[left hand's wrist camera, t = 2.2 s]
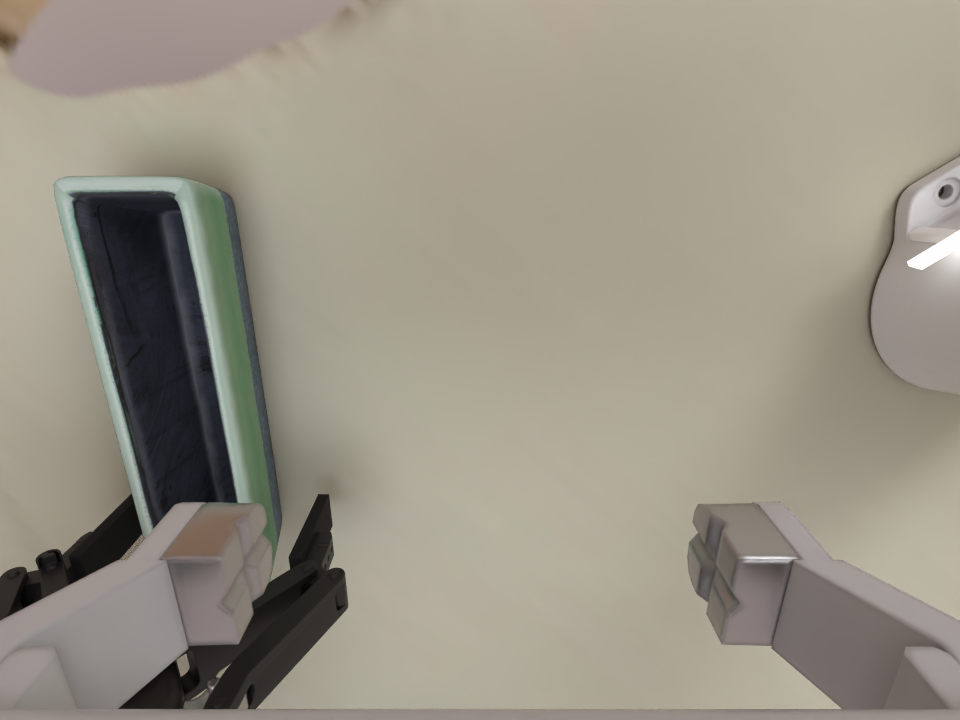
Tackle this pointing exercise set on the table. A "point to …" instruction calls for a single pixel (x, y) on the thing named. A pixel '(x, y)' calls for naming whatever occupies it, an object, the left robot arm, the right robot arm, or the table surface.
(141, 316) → the planter
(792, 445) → the table surface
